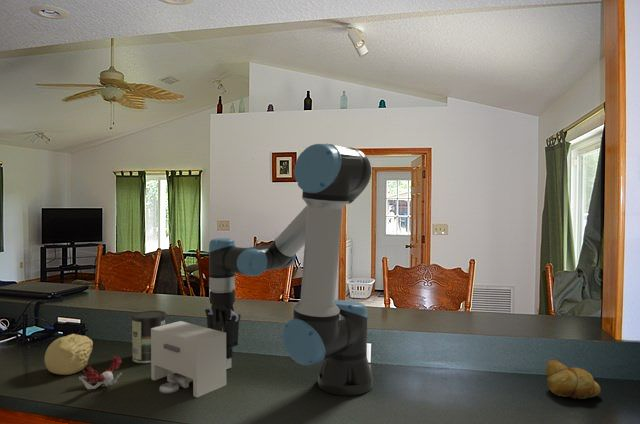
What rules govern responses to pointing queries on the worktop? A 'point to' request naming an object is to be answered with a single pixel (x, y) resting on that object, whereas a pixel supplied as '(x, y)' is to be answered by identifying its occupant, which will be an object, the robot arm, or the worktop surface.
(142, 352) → the coffee can
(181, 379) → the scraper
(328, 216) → the robot arm
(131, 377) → the worktop surface
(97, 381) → the figurine
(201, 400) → the worktop surface
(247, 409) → the worktop surface
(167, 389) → the steel token
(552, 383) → the bread roll
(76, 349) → the sculpture
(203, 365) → the cabinet
